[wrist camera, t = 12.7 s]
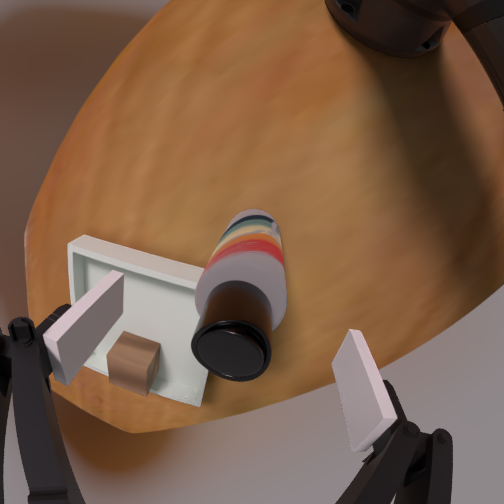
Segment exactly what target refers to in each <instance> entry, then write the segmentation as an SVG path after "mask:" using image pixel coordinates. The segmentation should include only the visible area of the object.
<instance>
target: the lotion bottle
mask: <svg viewBox="0 0 504 504" xmlns="http://www.w3.org/2000/svg"><path fill="white" fill-rule="evenodd" d="M195 306H196V310H197V312H198V314H199V316H200V318H199V321H198V324H197V326H196V329H195V332H194V334H193V337H192V340H191V350H192V353H193V355H194V357H195V358H196V359H197V361H198V362H199V363H200V364H201V365H202V366H203V367H205V368H206V369H207V370H209V371H210V372H212V373H213V374H215V375H217V376H219V377H222V378H224V379H227V380H231V381H238V382H243V381H250V380H253V379H255V378H257V377H259V376H260V375H262V374H263V373H264V372H265V370H266V369H267V367H268V365H269V363H270V360H271V354H272V331H273V330H274V329H275V328H276V327H277V326H278V325H279V324H280V323H281V321H282V319H283V317H284V315H285V312H286V308H287V290H286V280H285V271H284V262H283V253H282V245H281V237H280V231H279V227H278V225H277V223H276V221H275V219H274V218H273V217H272V216H271V215H270V214H268V213H267V212H265V211H262V210H259V209H248V210H244V211H242V212H240V213H238V214H237V215H236V216H235V217H234V218H233V219H232V220H231V222H230V223H229V225H228V227H227V229H226V230H225V232H224V234H223V236H222V238H221V239H220V241H219V243H218V245H217V247H216V249H215V250H214V252H213V254H212V256H211V258H210V260H209V262H208V263H207V265H206V267H205V269H204V271H203V273H202V275H201V277H200V279H199V281H198V284H197V286H196V290H195Z"/></svg>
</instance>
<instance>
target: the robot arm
mask: <svg viewBox="0 0 504 504" xmlns="http://www.w3.org/2000/svg"><path fill="white" fill-rule="evenodd" d="M325 2H326V4H327V7H328V9H329V10H330V12H331V14H332V15H333V17H334V18H335V19H336V21H337V22H338V23H339V24H340V25H341V26H342V27H343V28H344V29H345V30H346V31H347V32H348V33H349V34H351V35H352V36H353V37H354V38H356V39H357V40H359V41H360V42H362V43H363V44H365V45H367V46H368V47H370V48H372V49H374V50H377V51H379V52H381V53H384V54H387V55H390V56H395V57H401V58H414V57H419V56H422V55H424V54H426V53H428V52H429V51H431V50H433V49H434V48H436V47H437V46H438V45H439V44H440V43H441V41H442V39H443V37H444V36H445V34H446V32H447V30H448V28H449V26H450V24H451V22H452V21H453V22H454V23H455V25H456V26H457V27H458V29H459V30H460V32H461V33H462V35H463V36H464V38H465V39H466V40H467V42H468V43H469V45H470V46H471V48H472V50H473V51H474V53H475V54H476V56H477V58H478V59H479V61H480V63H481V64H482V66H483V68H484V70H485V71H486V73H487V75H488V77H489V79H490V81H491V82H492V84H493V86H494V88H495V90H496V92H497V94H498V96H499V99H500V101H501V103H502V105H503V107H504V0H325ZM496 18H497V19H496ZM491 20H492V21H491ZM489 21H490V22H489ZM484 23H485V24H484ZM482 24H483V25H482ZM477 26H478V27H477ZM475 27H476V28H475ZM473 28H474V29H473ZM503 111H504V109H503ZM123 298H124V273H121V272H118V271H115V270H112V271H111V272H110V273H109V274H108V275H106V276H105V277H104V278H103V279H102V280H101V281H100V282H98V283H97V284H96V285H95V286H94V287H93V288H92V289H91V290H89V291H88V292H87V293H86V294H85V295H84V296H83V297H82V298H81V299H79V300H78V301H77V302H76V303H75V304H74V305H73V306H72V305H69V304H65V305H62V306H60V307H58V308H57V309H56V310H55V311H54V312H53V314H51V315H49V316H48V318H46V319H45V320H44V321H43V322H42V323H41V324H40V325H39V326H38V327H37V328H35V327H34V323H33V321H32V320H31V319H29V318H27V317H18V318H15V319H13V320H12V321H11V322H10V323H9V325H8V330H9V333H10V336H6V335H3V334H2V331H1V328H0V504H4V489H3V463H4V445H5V434H6V425H7V418H8V411H9V405H10V399H11V393H13V406H14V416H15V424H16V431H17V438H18V444H19V449H20V454H21V459H22V464H23V467H24V472H25V476H26V480H27V483H28V487H29V490H30V494H29V495H28V504H86V503H85V501H84V499H83V497H82V494H81V492H80V489H79V487H78V484H77V482H76V479H75V477H74V474H73V471H72V468H71V465H70V463H69V460H68V457H67V453H66V450H65V446H64V443H63V440H62V436H61V432H60V428H59V424H58V420H57V416H56V411H55V407H54V401H53V396H52V390H51V384H50V379H49V375H50V374H51V373H52V371H53V374H54V377H55V380H57V381H59V382H61V383H63V384H64V385H66V386H69V384H70V383H71V381H72V380H73V379H74V377H75V376H76V374H77V373H78V372H79V370H80V369H81V368H82V366H83V365H84V363H85V362H86V361H87V359H88V358H89V357H90V355H91V354H92V353H93V351H94V350H95V349H96V347H97V346H98V345H99V343H100V342H101V341H102V340H103V338H104V337H105V336H106V334H107V333H108V332H109V331H110V329H111V328H112V327H113V325H114V324H115V323H116V322H117V320H118V319H119V318H120V317H121V315H122V314H123ZM331 364H332V368H333V372H334V376H335V380H336V384H337V388H338V392H339V396H340V400H341V404H342V409H343V413H344V417H345V422H346V426H347V431H348V435H349V440H350V444H351V449H352V452H361V451H366V450H367V449H369V447H371V446H372V445H373V448H374V451H373V452H372V453H371V454H370V455H369V456H368V457H367V458H365V459H364V460H363V461H362V462H365V461H366V462H365V463H364V465H363V466H362V468H361V469H360V471H359V472H358V474H357V475H356V477H355V478H354V480H353V481H352V482H351V484H350V485H349V486H348V488H347V489H346V490H345V492H344V493H343V494H342V496H341V497H340V498H339V499H338V501H337V502H336V503H335V504H390V503H391V501H392V499H393V497H394V496H395V494H396V496H395V500H394V504H450V503H451V491H452V473H453V445H452V444H453V443H452V442H453V441H452V437H451V435H450V434H449V432H447V431H446V430H444V429H440V428H439V429H436V430H435V431H434V432H433V433H432V434H427V433H423V432H420V429H419V428H418V426H417V425H416V424H414V423H413V422H410V421H407V419H406V416H405V414H404V411H403V409H402V407H401V404H400V402H399V399H398V397H397V396H396V392H395V390H394V388H393V386H392V385H391V384H390V383H389V382H388V381H387V380H382V378H381V376H380V373H379V371H378V369H377V366H376V364H375V362H374V359H373V357H372V355H371V353H370V350H369V348H368V346H367V344H366V341H365V339H364V337H363V335H362V333H361V331H358V330H353V329H349V331H348V333H347V335H346V337H345V339H344V341H343V343H342V345H341V347H340V348H339V350H338V352H337V354H336V356H335V358H334V360H333V362H332V363H331Z"/></svg>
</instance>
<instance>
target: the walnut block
mask: <svg viewBox="0 0 504 504" xmlns="http://www.w3.org/2000/svg"><path fill="white" fill-rule="evenodd" d="M160 344H161V343H158V342H155V341H152V340H149V339H146V338H143V337H141V336H138V335H135V334H132V333H129V332H127V331H123V332H122V334H121V335H120V336H119V338H118V339H117V341H116V342H115V343H114V345H113V346H112V348H111V349H110V350H109V352H108V353H107V355H106V358H107V367H108V374H109V382H110V383H112V384H114V385H116V386H119V387H121V388H124V389H126V390H129V391H132V392H134V393H137V394H140V395H143V396H145V397H147V395H148V393H149V390H150V388H151V386H152V384H153V382H154V379H155V377H156V375H157V373H158V371H159V358H160Z"/></svg>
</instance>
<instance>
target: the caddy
mask: <svg viewBox="0 0 504 504" xmlns="http://www.w3.org/2000/svg"><path fill="white" fill-rule="evenodd" d="M68 270H69V285H70V297H71V305H72V306H73V305H74V304H75V303H76V302H77V301H78V300H79V299H81V298H82V297H83V296H84V295H85V294H86V293H87V292H88V291H89V290H91V289H92V288H93V287H94V286H95V285H96V284H97V283H98V282H100V281H101V280H102V279H103V278H104V277H105V276H106V275H108V274H109V273H110V272H111V271H112V270H115V271H118V272H121V273H124V298H123V314H122V315H121V317H120V318H119V319H118V320H117V322H116V323H115V324H114V325H113V327H112V328H111V329H110V331H109V332H108V333H107V334H106V336H105V337H104V338H103V340H102V341H101V342H100V343H99V345H98V346H97V347H96V349H95V350H94V351H93V353H92V354H91V355H90V357H89V358H88V359H87V361H86V362H85V363H84V366H86V367H88V368H91V369H93V370H95V371H97V372H100V373H102V374H104V375H107V376H109V374H108V367H107V358H106V355H107V353H108V352H109V350H110V349H111V348H112V346H113V345H114V343H115V342H116V341H117V339H118V338H119V336H120V335H121V334H122V332H123V331H127V332H129V333H132V334H135V335H138V336H141V337H143V338H146V339H149V340H152V341H155V342H158V343H161V344H160V358H159V371H158V373H157V375H156V377H155V379H154V382H153V384H152V386H151V388H150V390H149V392H151V393H154V394H157V395H160V396H164V397H167V398H170V399H173V400H177V401H180V402H183V403H187V404H191V405H194V406H198V407H200V406H201V402H202V398H203V394H204V390H205V386H206V381H207V377H208V373H209V370H207V369H206V368H205V367H203V366H202V365H201V364H200V363H199V362H198V361H197V359H196V358H195V357H194V355H193V353H192V350H191V340H192V337H193V334H194V332H195V329H196V326H197V324H198V321H199V318H200V316H199V314H198V312H197V310H196V306H195V290H196V286H197V284H198V281H199V279H200V277H201V275H202V273H203V271H204V268H200V267H197V266H193V265H189V264H185V263H182V262H178V261H174V260H171V259H167V258H163V257H160V256H156V255H153V254H149V253H146V252H142V251H138V250H135V249H131V248H128V247H125V246H121V245H118V244H114V243H111V242H107V241H104V240H101V239H97V238H94V237H91V236H87V235H82V236H80V237H79V238H77V239H75V240H73V241H71V242H70V243H68Z"/></svg>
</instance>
